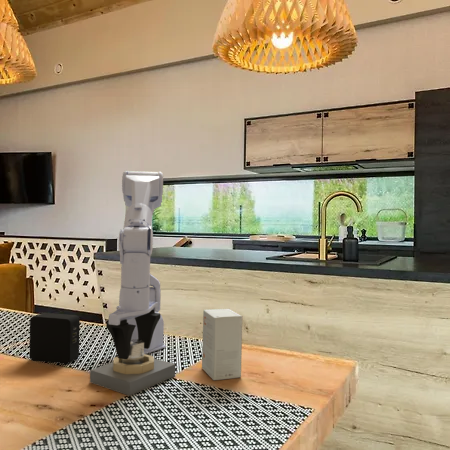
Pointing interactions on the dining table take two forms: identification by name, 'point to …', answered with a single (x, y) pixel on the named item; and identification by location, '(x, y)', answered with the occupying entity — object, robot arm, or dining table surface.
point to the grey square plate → (132, 375)
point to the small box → (222, 343)
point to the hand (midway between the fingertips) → (134, 352)
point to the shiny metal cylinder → (135, 353)
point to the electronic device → (54, 337)
